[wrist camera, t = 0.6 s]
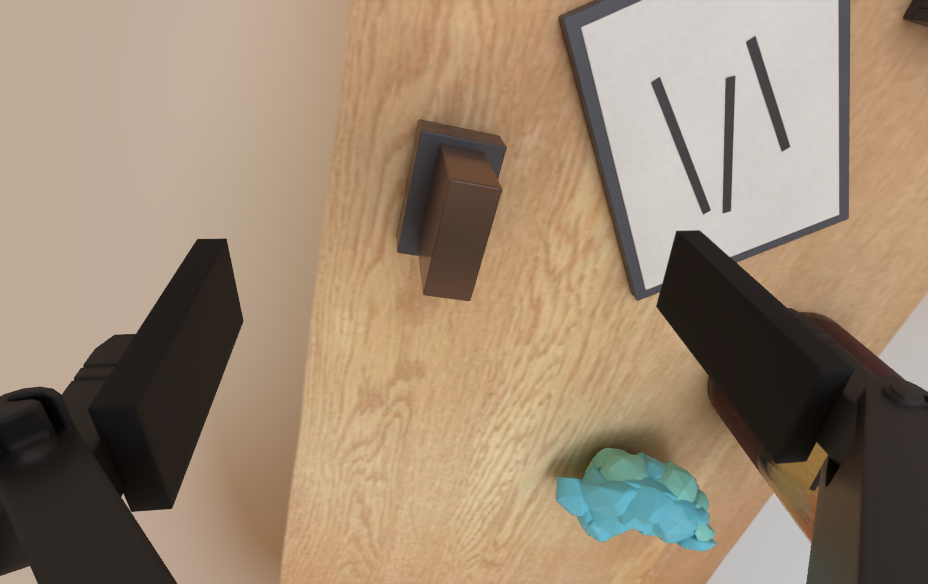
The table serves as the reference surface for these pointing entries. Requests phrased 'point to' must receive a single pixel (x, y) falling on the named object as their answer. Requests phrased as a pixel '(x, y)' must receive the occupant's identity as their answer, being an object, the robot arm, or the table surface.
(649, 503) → the light blue toy tree
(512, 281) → the table surface
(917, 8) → the tray
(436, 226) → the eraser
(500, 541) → the table surface
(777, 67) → the whiteboard
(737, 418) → the vase
